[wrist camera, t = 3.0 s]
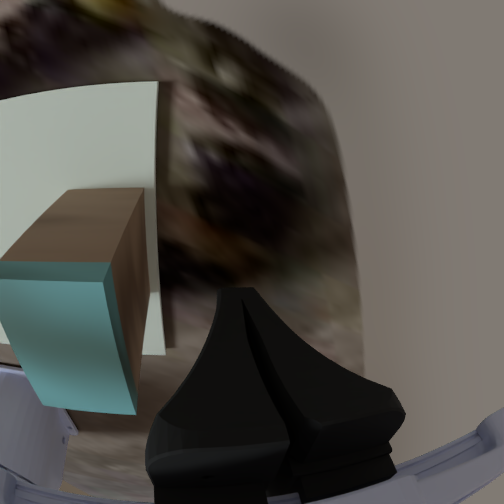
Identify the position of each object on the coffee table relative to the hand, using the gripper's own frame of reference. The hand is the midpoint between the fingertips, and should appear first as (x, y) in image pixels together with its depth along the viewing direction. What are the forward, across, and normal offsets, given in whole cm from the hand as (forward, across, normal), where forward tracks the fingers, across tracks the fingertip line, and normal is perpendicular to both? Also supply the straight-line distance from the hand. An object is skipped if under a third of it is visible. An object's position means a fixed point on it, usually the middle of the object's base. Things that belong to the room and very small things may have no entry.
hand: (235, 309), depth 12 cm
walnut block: (+5, +6, 0) cm, 8 cm away
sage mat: (+6, +10, 0) cm, 12 cm away
